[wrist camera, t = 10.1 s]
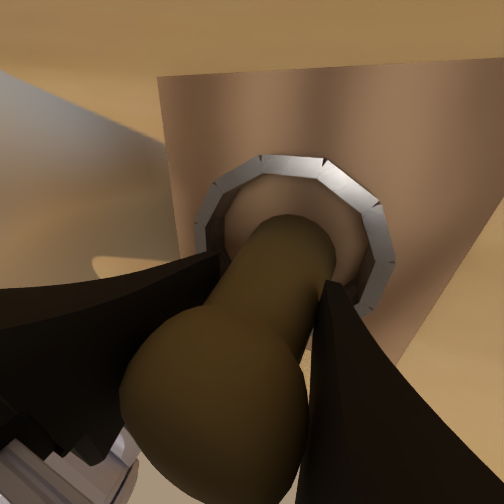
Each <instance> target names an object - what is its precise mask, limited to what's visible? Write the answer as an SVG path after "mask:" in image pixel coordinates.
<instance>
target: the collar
mask: <svg viewBox="0 0 504 504" xmlns="http://www.w3.org/2000/svg"><path fill="white" fill-rule="evenodd" d="M325 159H326V157H312V156H298V155H284V154H262V155H257V156H255V157H254V158H252V159H250V160H248V161H247V162H245V163H243V164H242V165H240V166H238V167H236V168H235V169H233V170H231V171H229V172H228V173H226V174H224V175H223V176H221V177H219V178H217V179H216V180H214V181H215V182H213V183H212V184H211V186H210V188H209V190H208V193H207V195H206V197H205V199H204V201H203V203H202V205H201V207H200V209H199V211H198V214H197V216H196V218H195V220H194V221H195V223H194V234H195V245H196V254H198V253H202V252H206V251H211V252H215V253H219V260H220V279H221V277H222V276H223V275H224V273H225V272H226V270H227V269H228V267H229V266H230V264H231V263H232V261H231V259H230V257H229V255H228V253H227V251H226V249H225V215H226V213H227V211H228V210H229V208H230V206H231V205H232V203H233V201H234V199H235V198H236V196H237V194H238V193H239V191H240V189H241V187H243V186H245V185H247V184H249V183H251V182H253V181H255V180H257V179H259V178H261V177H262V176H264V175H266V174H278V175H288V176H298V177H308V178H317V179H318V180H319V181H320V182H322V183H323V184H324V185H325V186H327V187H328V188H329V189H331V190H332V191H333V192H334V193H336V194H337V195H338V196H339V197H341V198H342V199H343V200H345V201H346V202H347V203H348V204H350V205H351V206H352V207H353V208H355V209H356V210H357V211H359V213H360V217H361V220H362V223H363V227H364V230H365V233H366V237H367V240H368V244H367V247H366V249H365V252H364V255H363V258H362V260H361V263H360V266H359V269H358V271H357V274H356V277H355V278H354V279H353V280H351V281H350V282H349V283H347V284H346V285H344V286H343V287H344V289H345V291H346V293H347V295H348V297H349V299H350V300H351V302H352V304H353V306H354V307H355V309H356V311H357V313H358V314H359V316H360V317H361V318H362V317H364V316H366V315H367V314H369V313H371V312H373V308H374V309H376V307H377V304H378V302H379V300H380V298H381V296H382V294H383V291H384V289H385V287H386V285H387V283H388V281H389V279H390V276H391V274H392V272H393V270H394V268H395V266H396V263H395V260H396V256H395V252H394V249H393V245H392V241H391V237H390V234H389V230H388V226H387V222H386V219H385V215H384V211H383V207H382V204H381V203H380V202H379V200H378V199H377V198H376V196H375V195H374V194H373V193H372V192H371V191H370V190H368V189H367V188H366V187H365V186H363V185H362V184H361V183H360V182H358V181H357V180H356V179H354V178H353V177H352V176H351V175H349V174H348V173H347V172H345V171H344V170H343V169H342V168H340V167H339V166H338V165H337V164H335V163H334V162H333V161H331V160H330V159H328V160H327V161H326V163H325ZM313 328H314V327H313ZM312 334H313V330H312V332H311V335H310V336H312Z"/></svg>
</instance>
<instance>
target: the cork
mask: <svg viewBox="0 0 504 504" xmlns="http://www.w3.org/2000/svg"><path fill="white" fill-rule="evenodd" d="M336 263H337V261H336V250H335V247H334V245H333V243H332V241H331V239H330V237H329V235H328V234H327V233H326V232H325V231H324V230H323V229H322V228H321V227H320V226H319V225H318V224H317V223H315V222H313V221H311V220H309V219H307V218H305V217H303V216H297V215H291V214H284V215H277V216H273V217H271V218H269V219H267V220H265V221H263V222H261V223H260V224H259V226H258V227H257V228H256V229H255V230H254V231H253V232H252V234H251V235H250V237H249V238H248V240H247V241H246V243H245V244H244V245H243V247H242V248H241V250H240V251H239V253H238V254H237V256H236V257H235V259H234V260H233V261H232V263H231V264H230V266H229V267H228V269H227V270H226V272H225V273H224V275H223V276H222V277H221V279H220V280H219V282H218V283H217V285H216V286H215V288H214V289H213V291H212V292H211V293H210V295H209V296H208V298H207V299H206V301H205V302H204V304H203V305H202V306H197V307H194V308H191V309H188V310H185V311H182V312H180V313H179V314H177V315H175V316H173V317H172V318H170V319H168V320H166V321H165V322H164V323H163V324H162V325H161V326H160V327H158V328H157V329H156V330H155V331H154V332H153V333H152V334H151V335H150V336H149V337H148V338H147V339H146V340H145V342H144V343H143V344H142V345H141V346H140V348H139V349H138V351H137V352H136V354H135V355H134V357H133V358H132V359H131V361H130V362H129V364H128V365H127V368H126V371H125V374H124V376H123V379H122V382H121V385H120V387H119V400H120V410H121V416H122V418H123V420H124V422H125V424H126V426H127V428H128V430H129V432H130V433H131V435H132V437H133V439H134V440H135V442H136V444H137V445H138V447H139V448H140V449H141V451H142V452H143V453H144V455H145V456H146V457H147V459H148V460H149V461H150V462H151V464H152V465H153V466H154V467H155V468H156V469H157V470H158V471H159V472H160V473H161V474H162V475H163V476H164V477H165V478H166V479H168V480H169V481H170V482H171V483H172V484H173V485H175V486H176V487H178V488H179V489H180V490H181V491H183V492H185V493H186V494H187V495H189V496H191V497H193V498H195V499H197V500H199V501H201V502H203V503H205V504H279V503H280V501H281V500H282V499H283V497H284V496H285V495H286V493H287V492H288V491H289V490H290V488H291V486H292V484H293V482H294V479H295V477H296V475H297V472H298V469H299V466H300V464H301V461H302V458H303V455H304V452H305V450H306V447H307V438H308V429H309V420H310V416H309V406H308V396H307V389H306V385H305V380H304V375H303V372H302V370H301V368H300V366H299V364H300V362H301V359H302V356H303V354H304V351H305V348H306V346H307V343H308V340H309V338H310V335H311V332H312V330H313V327H314V323H315V320H316V316H317V312H318V306H319V301H320V298H321V294H322V291H323V287H324V283H325V280H330V281H331V279H332V276H333V273H334V270H335V266H336Z"/></svg>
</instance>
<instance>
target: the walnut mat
mask: <svg viewBox="0 0 504 504" xmlns="http://www.w3.org/2000/svg"><path fill="white" fill-rule="evenodd" d="M157 81H158V89H159V97H160V105H161V112H162V120H163V128H164V136H165V144H166V151H167V158H168V167H169V175H170V183H171V190H172V198H173V206H174V213H175V221H176V229H177V237H178V245H179V253H180V259H182V258H185V257H189V256H192V255H195V254H196V245H195V234H194V223H195V221H194V220H195V218H196V216H197V214H198V211H199V209H200V207H201V205H202V203H203V201H204V199H205V197H206V195H207V193H208V190H209V188H210V186H211V184H212V183H213V182H215V181H214V180H216V179H217V178H219V177H221V176H223V175H224V174H226V173H228V172H229V171H231V170H233V169H235V168H236V167H238V166H240V165H242V164H243V163H245V162H247V161H248V160H250V159H252V158H254V157H255V156H257V155H262V154H284V155H298V156H312V157H326V159H325V163H326V161H327V160H328V159H330V160H331V161H333V162H334V163H335V164H337V165H338V166H339V167H340V168H342V169H343V170H344V171H345V172H347V173H348V174H349V175H351V176H352V177H353V178H354V179H356V180H357V181H358V182H360V183H361V184H362V185H363V186H365V187H366V188H367V189H368V190H370V191H371V192H372V193H373V194H374V195H375V196H376V198H377V199H378V200H379V202H380V203H381V204H382V207H383V211H384V215H385V219H386V222H387V226H388V230H389V234H390V237H391V241H392V245H393V249H394V252H395V256H396V260H395V263H396V266H395V268H394V270H393V272H392V274H391V276H390V279H389V281H388V283H387V285H386V287H385V289H384V291H383V294H382V296H381V298H380V300H379V302H378V304H377V307H376V309H374V308H373V312H371V313H369V314H367V315H366V316H364V317H362V318H361V319H362V321H363V322H364V324H365V326H366V327H367V329H368V330H369V332H370V333H371V335H372V336H373V338H374V339H375V340H376V342H377V343H378V345H379V346H380V348H381V349H382V350H383V352H384V353H385V354H386V355H387V357H388V358H389V359H390V361H391V362H392V363H393V364H394V365H395V366H396V364H397V363H398V361H399V360H400V358H401V356H402V355H403V353H404V352H405V350H406V349H407V347H408V346H409V344H410V342H411V341H412V339H413V338H414V336H415V335H416V333H417V331H418V330H419V328H420V327H421V325H422V324H423V322H424V321H425V319H426V317H427V316H428V314H429V313H430V311H431V310H432V308H433V306H434V305H435V303H436V302H437V300H438V299H439V297H440V295H441V294H442V292H443V291H444V289H445V288H446V286H447V285H448V283H449V281H450V280H451V278H452V277H453V275H454V274H455V272H456V270H457V269H458V267H459V266H460V264H461V263H462V261H463V260H464V258H465V256H466V255H467V253H468V252H469V250H470V249H471V247H472V245H473V244H474V242H475V241H476V239H477V238H478V236H479V234H480V233H481V231H482V230H483V228H484V227H485V225H486V224H487V222H488V220H489V219H490V217H491V216H492V214H493V213H494V211H495V209H496V208H497V206H498V205H499V203H500V202H501V200H502V199H503V197H504V58H489V59H471V60H453V61H435V62H417V63H399V64H381V65H363V66H345V67H327V68H309V69H291V70H273V71H255V72H237V73H219V74H201V75H183V76H165V77H157ZM284 214H291V215H297V216H303V217H305V218H307V219H309V220H311V221H313V222H315V223H317V224H318V225H319V226H320V227H321V228H322V229H323V230H324V231H325V232H326V233H327V234H328V235H329V237H330V239H331V241H332V243H333V245H334V247H335V250H336V261H337V263H336V266H335V270H334V273H333V276H332V279H331V281H334V282H339V283H341V284H342V285H343V286H344V285H346V284H347V283H349V282H350V281H351V280H353V279H354V278H355V277H356V274H357V271H358V269H359V266H360V263H361V260H362V258H363V255H364V252H365V249H366V247H367V244H368V240H367V237H366V233H365V230H364V227H363V223H362V220H361V217H360V213H359V211H357V210H356V209H355V208H353V207H352V206H351V205H350V204H348V203H347V202H346V201H345V200H343V199H342V198H341V197H339V196H338V195H337V194H336V193H334V192H333V191H332V190H331V189H329V188H328V187H327V186H325V185H324V184H323V183H322V182H320V181H319V180H318V179H317V178H308V177H298V176H288V175H278V174H266V175H264V176H262V177H261V178H259V179H257V180H255V181H253V182H251V183H249V184H247V185H245V186H243V187H241V189H240V191H239V193H238V194H237V196H236V198H235V199H234V201H233V203H232V205H231V206H230V208H229V210H228V211H227V213H226V215H225V249H226V251H227V253H228V255H229V257H230V259H231V261H233V260H234V259H235V257H236V256H237V254H238V253H239V251H240V250H241V248H242V247H243V245H244V244H245V243H246V241H247V240H248V238H249V237H250V235H251V234H252V232H253V231H254V230H255V229H256V228H257V227H258V226H259V224H260V223H261V222H263V221H265V220H267V219H269V218H271V217H273V216H277V215H284ZM305 349H307V350H310V351H312V336H310V338H309V340H308V343H307V346H306V348H305Z"/></svg>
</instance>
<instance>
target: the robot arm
mask: <svg viewBox="0 0 504 504" xmlns="http://www.w3.org/2000/svg"><path fill="white" fill-rule="evenodd" d="M219 280H220V260H219V253H215V252H211V251H206V252H202V253H198V254H195V255H192V256H189V257H185V258H182V259H179V260H176V261H173V262H170V263H167V264H163V265H160V266H156V267H153V268H149V269H146V270H142V271H138V272H134V273H130V274H125V275H120V276H116V277H110V278H104V279H98V280H92V281H85V282H79V283H71V284H62V285H51V286H41V287H27V288H8V289H0V504H127V502H128V500H129V498H130V496H131V494H132V492H133V489H134V487H135V483H136V481H137V476H138V468H139V460H138V459H137V456H138V455H139V453H140V452H141V449H140V448H139V447H138V445H137V444H136V442H135V440H134V439H133V437H132V435H131V433H130V432H129V430H128V428H127V426H126V424H125V422H124V420H123V418H122V416H121V410H120V400H119V387H120V385H121V382H122V379H123V376H124V374H125V371H126V368H127V365H128V364H129V362H130V361H131V359H132V358H133V357H134V355H135V354H136V352H137V351H138V349H139V348H140V346H141V345H142V344H143V343H144V342H145V340H146V339H147V338H148V337H149V336H150V335H151V334H152V333H153V332H154V331H155V330H156V329H157V328H158V327H160V326H161V325H162V324H163V323H164V322H165V321H166V320H168V319H170V318H172V317H173V316H175V315H177V314H179V313H180V312H182V311H185V310H188V309H191V308H194V307H197V306H202V305H203V304H204V302H205V301H206V299H207V298H208V296H209V295H210V293H211V292H212V291H213V289H214V288H215V286H216V285H217V283H218V282H219ZM309 416H310V420H309V429H308V438H307V447H306V450H305V452H304V455H303V458H302V461H301V465H300V472H299V479H298V486H297V493H296V500H295V504H504V483H503V482H502V481H501V480H500V479H499V478H498V477H497V476H496V475H495V474H494V473H493V472H492V471H491V470H490V469H489V468H488V467H487V466H486V465H485V464H484V463H483V462H482V461H481V460H480V459H479V458H478V457H477V456H476V455H475V454H474V453H473V452H472V451H471V450H470V449H469V448H468V447H467V446H466V444H465V443H464V442H463V441H462V440H461V439H460V438H459V437H458V436H457V435H456V434H455V433H454V432H453V431H452V430H451V429H450V428H449V427H448V426H447V425H446V424H445V423H444V422H443V420H442V419H441V418H440V417H439V416H438V415H437V414H436V413H435V412H434V411H433V409H432V408H431V407H430V406H429V405H428V404H427V403H426V402H425V401H424V400H423V398H422V397H421V396H420V395H419V394H418V393H417V392H416V391H415V389H414V388H413V387H412V386H411V385H410V384H409V383H408V381H407V380H406V379H405V378H404V377H403V375H402V374H401V373H400V372H399V370H398V369H397V368H396V367H395V365H394V364H393V363H392V362H391V361H390V359H389V358H388V357H387V355H386V354H385V353H384V352H383V350H382V349H381V348H380V346H379V345H378V343H377V342H376V340H375V339H374V338H373V336H372V335H371V333H370V332H369V330H368V329H367V327H366V326H365V324H364V322H363V321H362V319H361V317H360V316H359V314H358V313H357V311H356V309H355V307H354V306H353V304H352V302H351V300H350V299H349V297H348V295H347V293H346V291H345V289H344V287H343V285H342V284H341V283H339V282H334V281H330V280H325V283H324V287H323V291H322V294H321V298H320V301H319V306H318V312H317V316H316V320H315V323H314V328H313V334H312V351H311V375H310V395H309Z"/></svg>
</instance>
